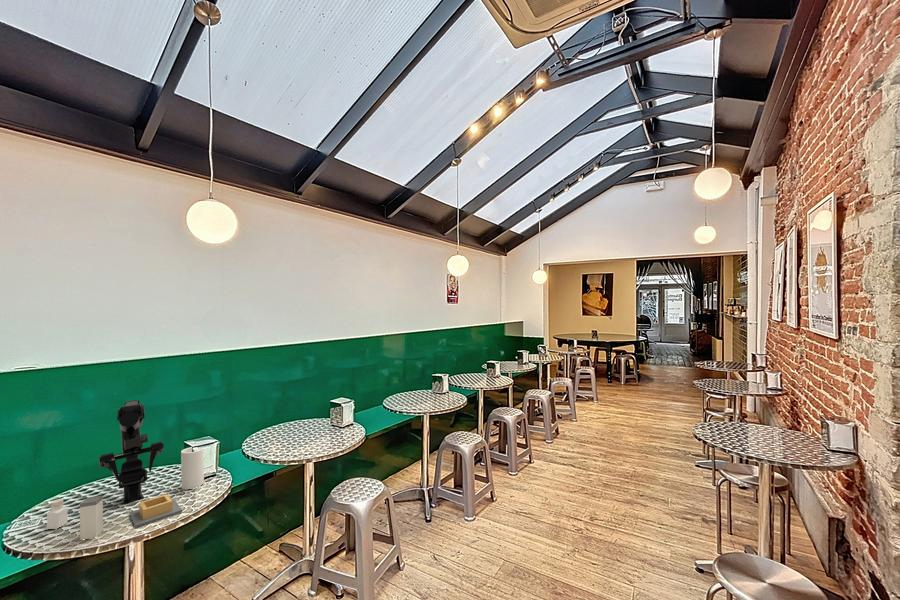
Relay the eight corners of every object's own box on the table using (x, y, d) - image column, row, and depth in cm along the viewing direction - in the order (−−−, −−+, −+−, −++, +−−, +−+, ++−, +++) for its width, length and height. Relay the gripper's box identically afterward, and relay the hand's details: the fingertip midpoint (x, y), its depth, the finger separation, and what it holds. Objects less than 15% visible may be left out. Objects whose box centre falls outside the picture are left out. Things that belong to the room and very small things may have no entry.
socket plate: (129, 514, 147) (129, 503, 147) (173, 500, 157) (173, 489, 157) (135, 528, 137) (135, 515, 137) (182, 512, 147) (182, 500, 147)
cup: (208, 482, 173) (207, 446, 173) (190, 491, 165) (190, 453, 165) (195, 480, 175) (194, 445, 176) (177, 488, 168) (176, 451, 168)
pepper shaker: (68, 523, 142) (68, 497, 142) (57, 530, 138) (57, 503, 138) (57, 524, 142) (56, 498, 142) (46, 530, 138) (45, 503, 138)
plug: (87, 533, 135) (87, 497, 135) (103, 531, 136) (102, 495, 136) (80, 541, 130) (79, 503, 131) (96, 538, 132) (95, 501, 132)
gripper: (98, 435, 138) (100, 478, 131) (163, 422, 150) (167, 461, 144) (98, 445, 144) (100, 488, 138) (160, 432, 157) (164, 470, 151)
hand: (134, 476), depth 143 cm, fingers open, 9 cm apart
